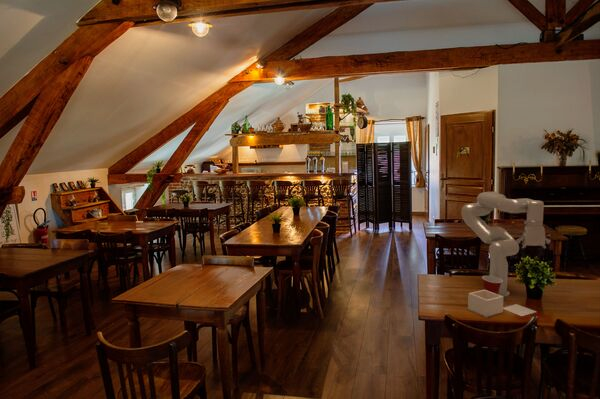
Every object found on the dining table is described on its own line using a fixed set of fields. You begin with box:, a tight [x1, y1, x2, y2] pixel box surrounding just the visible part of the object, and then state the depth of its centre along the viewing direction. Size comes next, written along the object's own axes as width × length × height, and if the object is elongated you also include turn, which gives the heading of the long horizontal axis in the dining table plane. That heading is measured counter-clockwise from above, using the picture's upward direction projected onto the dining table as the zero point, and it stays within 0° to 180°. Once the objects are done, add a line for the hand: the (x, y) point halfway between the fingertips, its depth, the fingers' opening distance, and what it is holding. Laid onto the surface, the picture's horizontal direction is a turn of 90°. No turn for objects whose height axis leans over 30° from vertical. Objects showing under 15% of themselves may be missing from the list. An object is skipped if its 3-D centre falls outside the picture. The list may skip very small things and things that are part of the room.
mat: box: [503, 303, 537, 317], centre depth 227 cm, size 12×12×1 cm
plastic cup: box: [481, 275, 503, 294], centre depth 244 cm, size 11×11×12 cm
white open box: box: [467, 289, 505, 318], centre depth 226 cm, size 12×12×9 cm
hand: (532, 255), depth 230 cm, fingers open, 9 cm apart
